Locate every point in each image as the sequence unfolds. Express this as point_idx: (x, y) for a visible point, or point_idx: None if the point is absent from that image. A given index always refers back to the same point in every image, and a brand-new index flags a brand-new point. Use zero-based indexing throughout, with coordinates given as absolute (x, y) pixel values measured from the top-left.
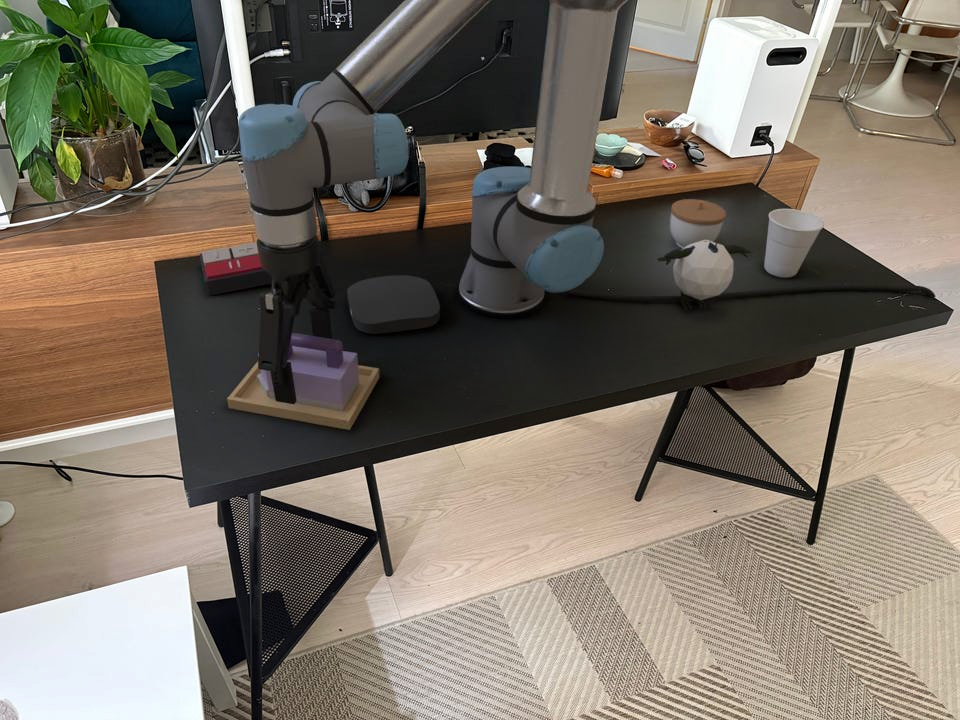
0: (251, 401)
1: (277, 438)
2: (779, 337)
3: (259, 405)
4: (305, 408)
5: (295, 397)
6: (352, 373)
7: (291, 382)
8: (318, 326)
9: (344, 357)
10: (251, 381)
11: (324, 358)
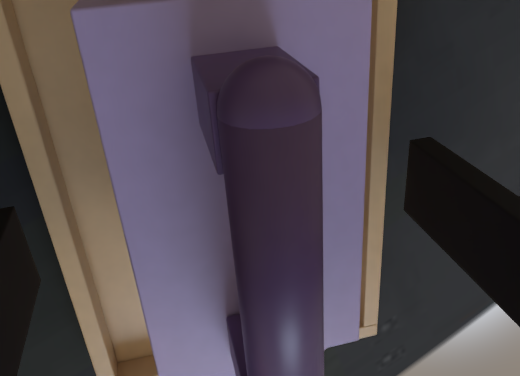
0: (373, 276)
1: (457, 123)
2: None
3: (381, 247)
4: None
5: (427, 148)
6: None
7: (498, 186)
8: (1, 349)
9: (154, 68)
10: None
11: (212, 167)
